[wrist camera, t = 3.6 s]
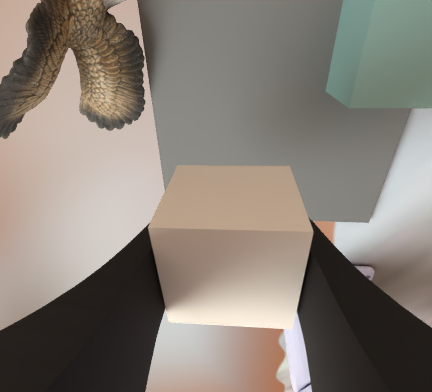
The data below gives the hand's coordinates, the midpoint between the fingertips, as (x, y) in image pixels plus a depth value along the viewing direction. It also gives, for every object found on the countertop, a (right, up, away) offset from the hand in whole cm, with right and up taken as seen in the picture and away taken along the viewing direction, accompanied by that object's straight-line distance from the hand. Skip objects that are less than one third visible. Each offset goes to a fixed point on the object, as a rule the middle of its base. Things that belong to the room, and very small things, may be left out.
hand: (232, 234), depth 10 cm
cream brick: (0, +1, +1) cm, 1 cm away
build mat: (+3, +7, +6) cm, 10 cm away
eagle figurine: (-8, +11, +5) cm, 14 cm away
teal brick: (+8, +10, +4) cm, 13 cm away
